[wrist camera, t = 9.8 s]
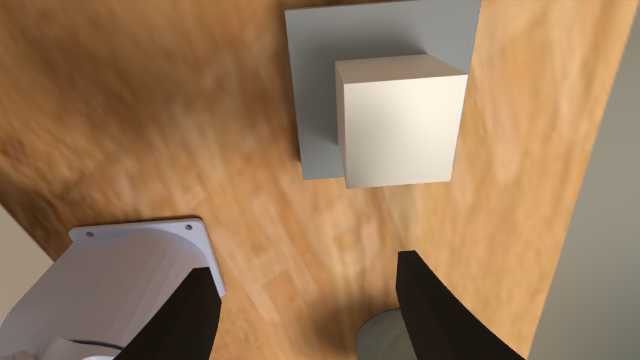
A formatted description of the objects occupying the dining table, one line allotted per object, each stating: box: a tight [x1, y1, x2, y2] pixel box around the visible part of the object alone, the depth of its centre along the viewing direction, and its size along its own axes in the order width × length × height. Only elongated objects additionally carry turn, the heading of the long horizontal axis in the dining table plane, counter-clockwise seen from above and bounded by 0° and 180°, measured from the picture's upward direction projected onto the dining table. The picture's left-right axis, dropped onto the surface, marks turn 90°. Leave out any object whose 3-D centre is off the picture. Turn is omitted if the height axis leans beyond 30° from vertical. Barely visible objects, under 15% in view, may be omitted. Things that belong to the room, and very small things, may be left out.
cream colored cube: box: [335, 54, 468, 189], centre depth 15 cm, size 5×5×4 cm
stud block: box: [285, 0, 482, 180], centre depth 17 cm, size 9×9×4 cm
